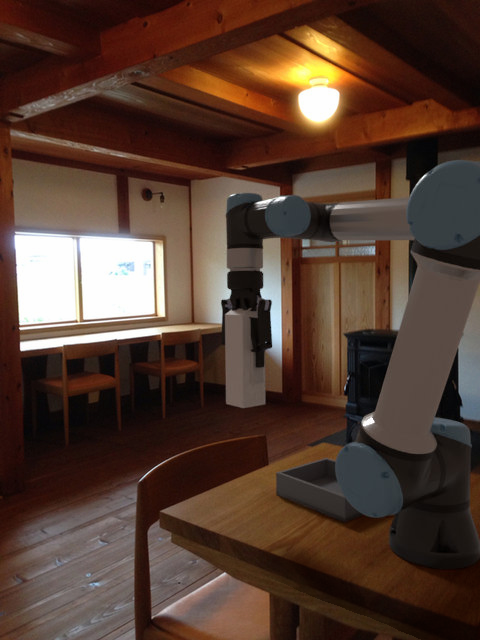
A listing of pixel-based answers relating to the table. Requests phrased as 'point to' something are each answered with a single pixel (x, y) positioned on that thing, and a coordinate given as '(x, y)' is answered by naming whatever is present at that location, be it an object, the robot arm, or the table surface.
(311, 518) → the table surface
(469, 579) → the table surface
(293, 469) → the bin
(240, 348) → the milk
